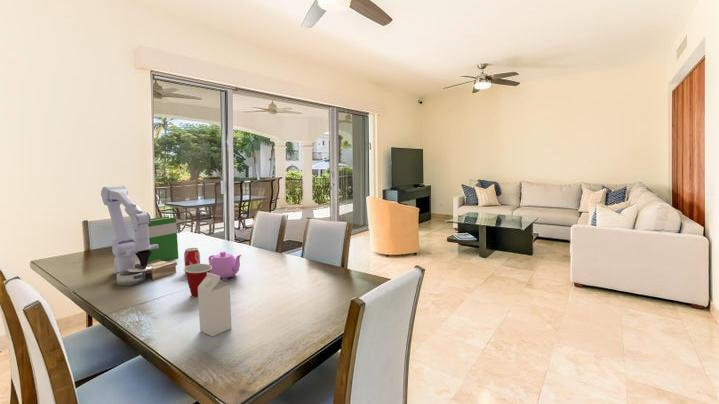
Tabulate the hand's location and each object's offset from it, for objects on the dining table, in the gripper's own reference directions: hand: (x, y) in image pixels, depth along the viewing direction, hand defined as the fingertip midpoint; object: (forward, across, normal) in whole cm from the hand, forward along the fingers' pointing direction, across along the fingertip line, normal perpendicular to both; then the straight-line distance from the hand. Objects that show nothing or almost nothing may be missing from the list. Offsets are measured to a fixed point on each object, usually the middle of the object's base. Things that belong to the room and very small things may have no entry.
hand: (144, 266), depth 168 cm
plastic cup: (+6, -5, -42) cm, 43 cm away
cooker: (+6, -6, 0) cm, 9 cm away
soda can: (+6, +15, -14) cm, 22 cm away
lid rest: (+6, +6, 0) cm, 8 cm away
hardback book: (+6, +23, +21) cm, 31 cm away
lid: (+1, -2, 0) cm, 2 cm away
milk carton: (+6, -25, -73) cm, 77 cm away
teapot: (+6, +16, -35) cm, 39 cm away
